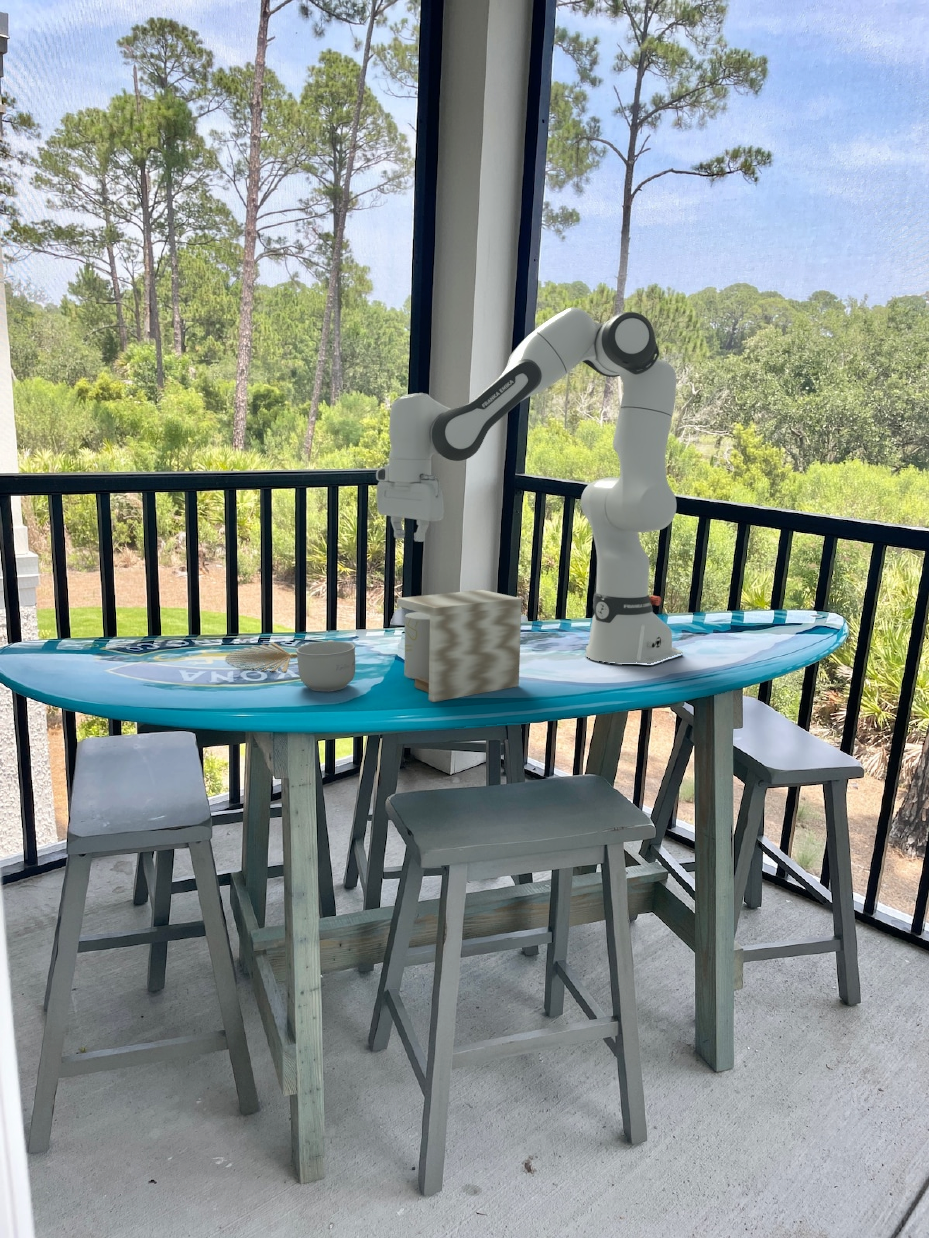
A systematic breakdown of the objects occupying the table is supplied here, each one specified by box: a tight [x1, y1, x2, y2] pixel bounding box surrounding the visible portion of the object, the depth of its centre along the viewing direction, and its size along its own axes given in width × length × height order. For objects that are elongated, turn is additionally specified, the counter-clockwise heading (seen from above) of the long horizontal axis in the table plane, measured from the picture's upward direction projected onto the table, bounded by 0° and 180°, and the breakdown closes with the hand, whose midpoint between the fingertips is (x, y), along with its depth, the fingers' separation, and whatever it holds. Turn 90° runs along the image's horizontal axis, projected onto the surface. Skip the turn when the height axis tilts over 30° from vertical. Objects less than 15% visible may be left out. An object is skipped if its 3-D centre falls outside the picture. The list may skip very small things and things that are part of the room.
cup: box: [404, 611, 430, 680], centre depth 177 cm, size 8×8×12 cm
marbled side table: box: [396, 589, 523, 703], centre depth 168 cm, size 20×12×17 cm, turn 127°
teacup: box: [295, 639, 356, 693], centre depth 168 cm, size 14×11×8 cm
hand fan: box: [225, 642, 297, 673], centre depth 189 cm, size 26×1×15 cm
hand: (409, 539), depth 189 cm, fingers open, 6 cm apart
